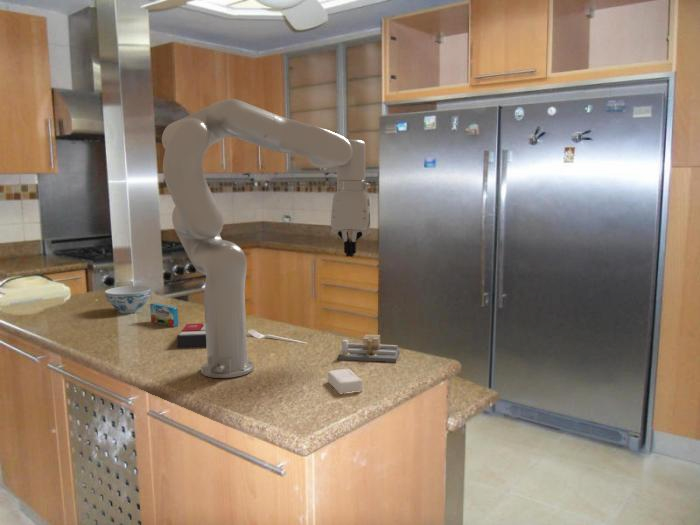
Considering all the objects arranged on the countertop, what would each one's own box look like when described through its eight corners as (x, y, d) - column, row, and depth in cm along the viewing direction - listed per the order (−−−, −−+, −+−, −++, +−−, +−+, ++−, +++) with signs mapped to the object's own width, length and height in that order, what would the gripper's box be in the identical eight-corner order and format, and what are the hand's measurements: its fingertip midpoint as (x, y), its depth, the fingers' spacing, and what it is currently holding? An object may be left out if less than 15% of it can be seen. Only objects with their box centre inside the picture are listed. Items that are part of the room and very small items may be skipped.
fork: (303, 347, 163) (303, 341, 163) (246, 337, 172) (246, 331, 172) (310, 344, 166) (310, 338, 166) (253, 334, 175) (253, 328, 175)
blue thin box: (178, 326, 184) (177, 307, 183) (174, 327, 183) (173, 308, 182) (155, 321, 191) (153, 302, 190) (151, 322, 190) (150, 303, 189)
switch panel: (396, 362, 147) (396, 345, 146) (337, 359, 149) (337, 342, 149) (399, 351, 156) (399, 335, 155) (344, 349, 158) (343, 333, 157)
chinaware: (135, 304, 216) (134, 284, 214) (160, 310, 207) (159, 288, 206) (97, 312, 204) (96, 290, 202) (122, 318, 195) (121, 295, 194)
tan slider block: (377, 355, 149) (377, 341, 148) (361, 354, 150) (361, 341, 149) (380, 347, 155) (380, 335, 155) (365, 347, 156) (365, 334, 155)
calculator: (222, 321, 176) (217, 332, 162) (223, 335, 177) (217, 347, 162) (185, 322, 175) (176, 333, 160) (185, 336, 176) (177, 348, 161)
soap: (326, 382, 134) (326, 370, 133) (349, 379, 135) (349, 367, 135) (339, 396, 125) (339, 383, 125) (363, 393, 127) (363, 379, 127)
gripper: (381, 187, 157) (379, 255, 159) (327, 187, 160) (326, 253, 162) (376, 187, 149) (375, 258, 152) (320, 187, 152) (319, 256, 155)
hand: (350, 256), depth 157 cm, fingers closed
